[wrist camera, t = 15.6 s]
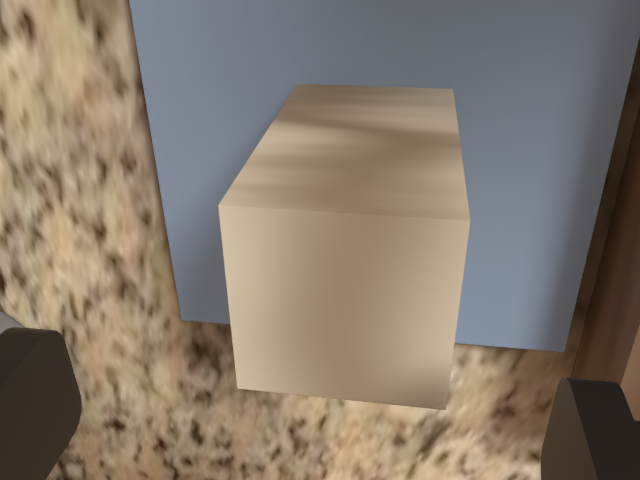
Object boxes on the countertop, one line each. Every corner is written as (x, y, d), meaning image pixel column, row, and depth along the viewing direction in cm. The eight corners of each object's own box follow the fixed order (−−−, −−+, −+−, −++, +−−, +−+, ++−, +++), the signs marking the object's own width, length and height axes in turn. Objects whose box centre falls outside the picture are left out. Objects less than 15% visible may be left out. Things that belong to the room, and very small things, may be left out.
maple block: (301, 218, 20) (237, 388, 13) (297, 83, 18) (218, 205, 11) (438, 226, 20) (446, 409, 13) (453, 89, 17) (470, 220, 10)
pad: (190, 304, 24) (181, 320, 23) (128, -101, 17) (112, -100, 16) (558, 334, 22) (564, 352, 21) (660, -110, 15) (674, -110, 14)
